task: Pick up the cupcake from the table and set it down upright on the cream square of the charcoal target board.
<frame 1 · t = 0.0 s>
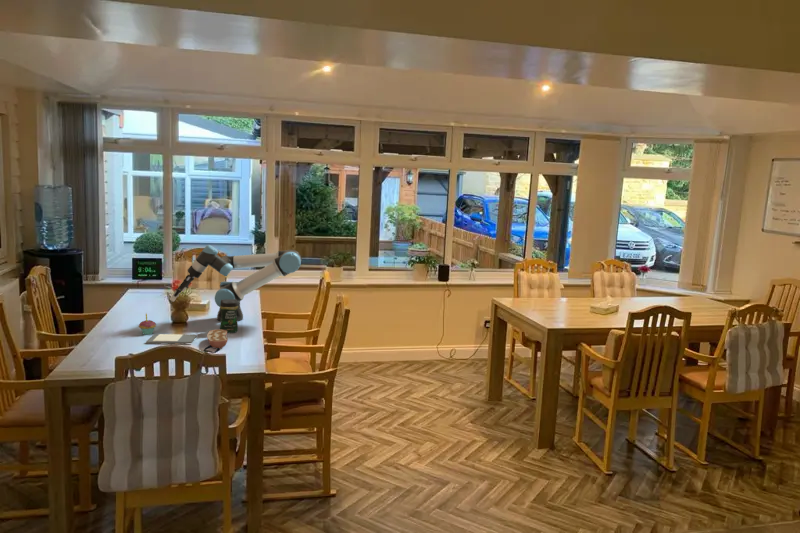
hand: (174, 298, 336), 15 cm above the table, tool tilted 35°, fingers open, 13 cm apart
coffee jar: (228, 332, 327), on the table
cupcake: (147, 333, 317), on the table
target board: (172, 340, 306), on the table
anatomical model: (217, 344, 303), on the table
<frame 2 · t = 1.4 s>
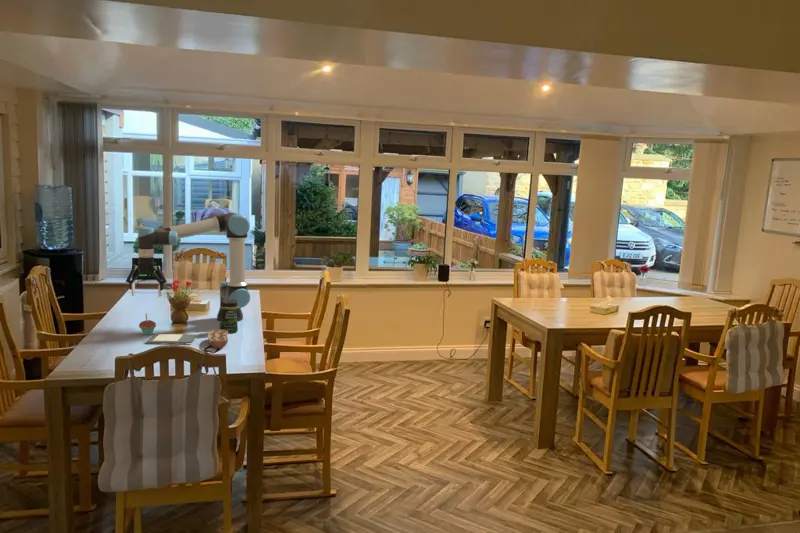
hand: (146, 295, 314), 21 cm above the table, tool pointing down, fingers open, 13 cm apart
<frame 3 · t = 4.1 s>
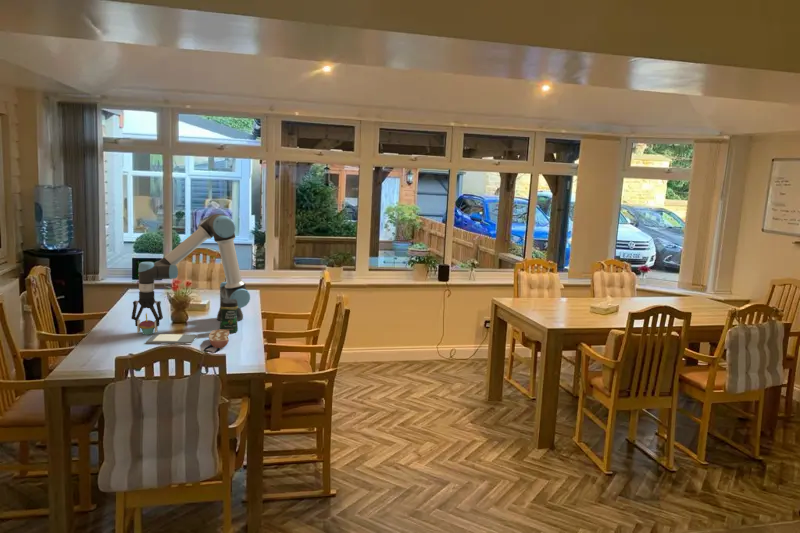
hand: (147, 332, 317), 1 cm above the table, tool pointing down, fingers closed on cupcake, 8 cm apart
cupcake: (147, 333, 317), on the table, touching gripper
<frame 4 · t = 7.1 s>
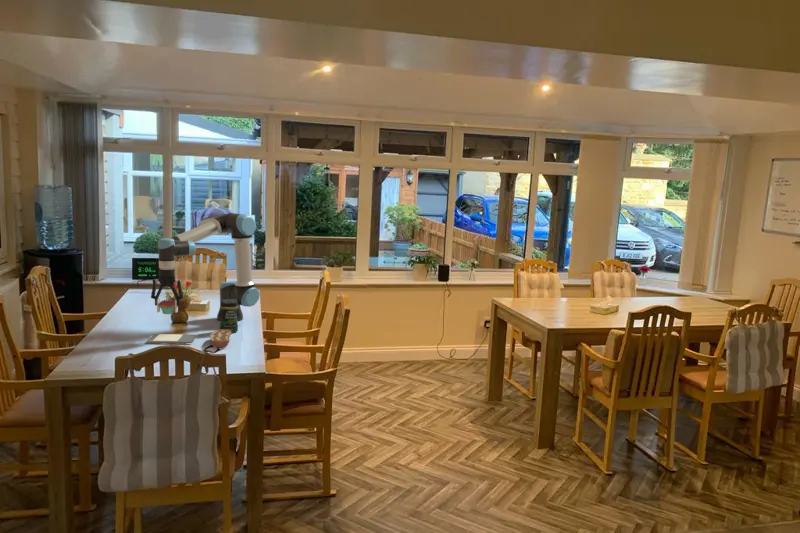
hand: (167, 311, 304), 15 cm above the table, tool pointing down, fingers closed on cupcake, 8 cm apart
cupcake: (167, 313, 304), point 14 cm above the table, touching gripper
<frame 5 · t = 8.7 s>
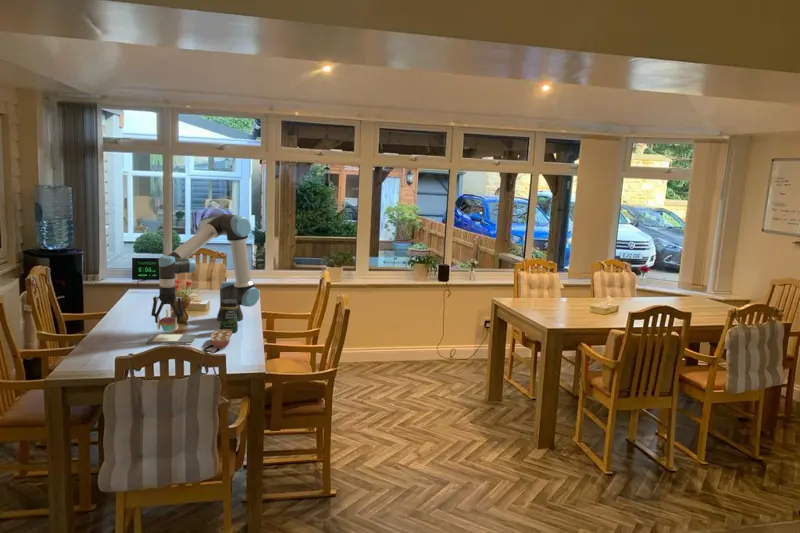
hand: (167, 329, 305), 6 cm above the table, tool pointing down, fingers closed on cupcake, 8 cm apart
cupcake: (167, 330, 305), point 5 cm above the table, touching gripper
when the fingers open (4 cm above the table, at t = 10.1 s): cupcake drops 1 cm, resting on target board.
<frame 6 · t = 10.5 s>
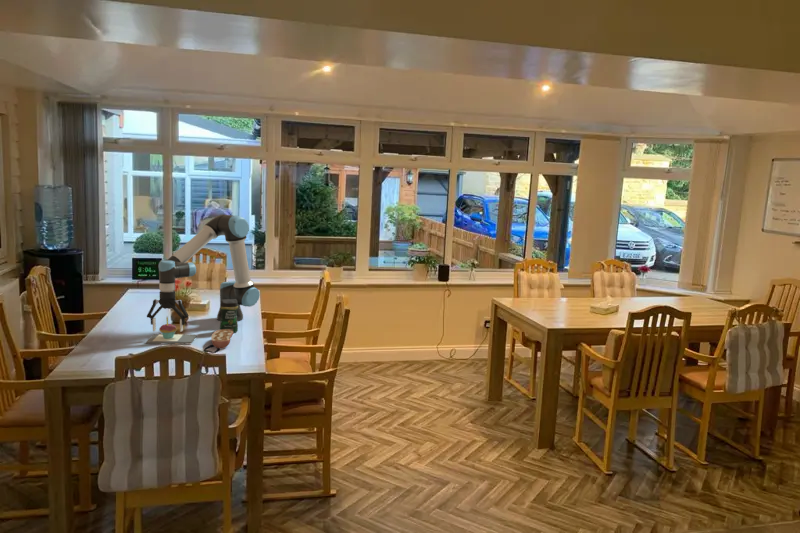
hand: (167, 330, 305), 5 cm above the table, tool pointing down, fingers open, 13 cm apart
cupcake: (168, 337, 306), point 1 cm above the table, touching target board
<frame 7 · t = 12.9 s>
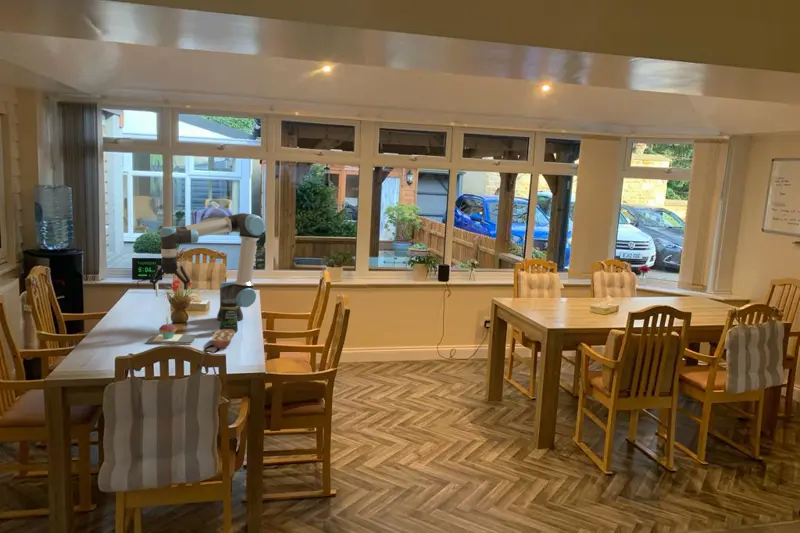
hand: (170, 295, 312), 22 cm above the table, tool pointing down, fingers open, 13 cm apart
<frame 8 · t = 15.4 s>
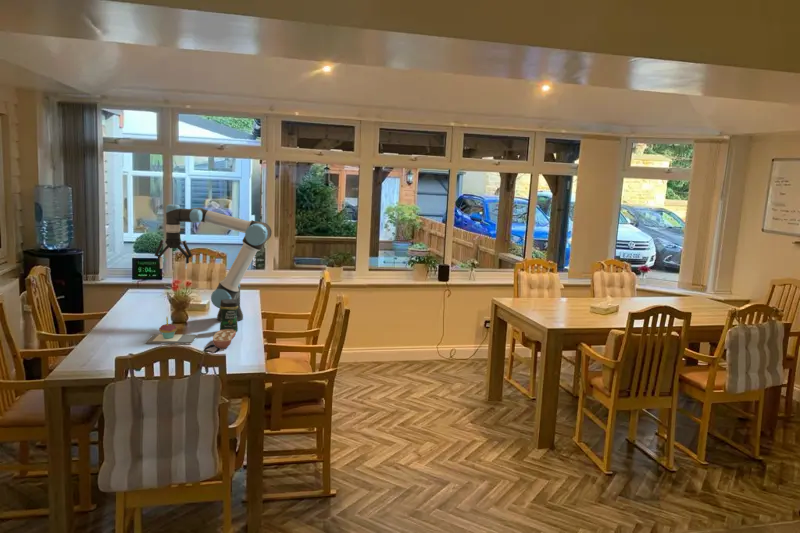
hand: (173, 268, 336), 32 cm above the table, tool pointing down, fingers open, 13 cm apart
at the end: cupcake inside the target area on the target board (0.1 cm from its centre), point 1.3 cm above the target board's base; cupcake tilted 0°; the gripper is holding nothing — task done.
